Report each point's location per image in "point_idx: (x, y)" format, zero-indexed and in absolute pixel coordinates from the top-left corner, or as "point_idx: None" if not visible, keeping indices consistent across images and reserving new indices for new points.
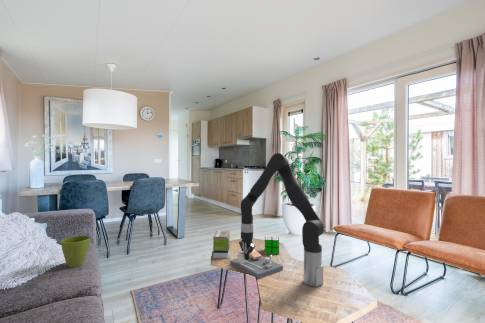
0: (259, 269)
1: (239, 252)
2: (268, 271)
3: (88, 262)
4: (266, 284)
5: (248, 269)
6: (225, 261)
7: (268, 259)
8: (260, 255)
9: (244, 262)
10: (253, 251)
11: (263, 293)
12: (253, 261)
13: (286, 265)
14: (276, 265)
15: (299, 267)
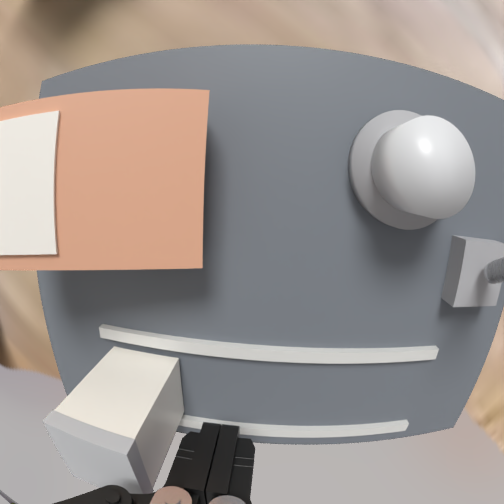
0: (425, 375)
1: (102, 482)
2: (494, 322)
3: (10, 498)
4: (498, 400)
5: (340, 443)
6: (31, 356)
7: (470, 196)
8: (195, 105)
9: (180, 382)
10: (52, 171)
11: (500, 444)
12: (208, 266)
13: (435, 5)
14: (492, 145)
15: (497, 3)
